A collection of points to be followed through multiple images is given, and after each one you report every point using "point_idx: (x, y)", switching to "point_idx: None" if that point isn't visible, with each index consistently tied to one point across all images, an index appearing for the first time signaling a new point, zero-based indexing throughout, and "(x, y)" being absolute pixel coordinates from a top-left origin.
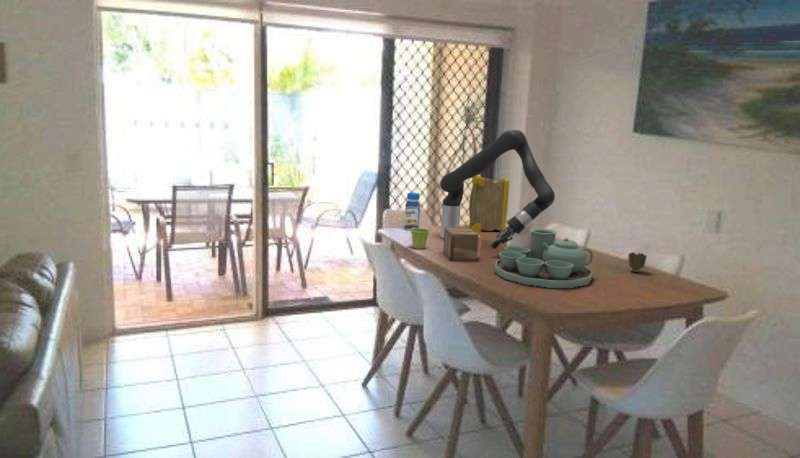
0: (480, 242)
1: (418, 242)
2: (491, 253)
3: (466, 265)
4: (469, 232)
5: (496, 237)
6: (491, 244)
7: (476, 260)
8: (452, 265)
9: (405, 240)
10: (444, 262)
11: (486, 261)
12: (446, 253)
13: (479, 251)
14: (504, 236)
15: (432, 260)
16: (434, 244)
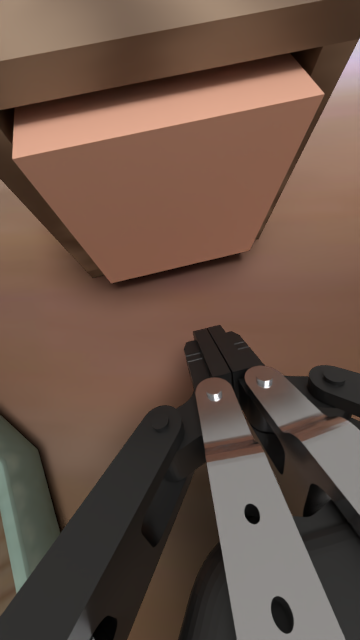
0: (56, 212)
1: None
2: (298, 355)
3: (10, 240)
4: (52, 11)
5: (324, 369)
6: (220, 328)
7: (91, 275)
8: (10, 196)
9: (354, 54)
10: None
11: (93, 323)
12: None
13: (95, 260)
14: (116, 549)
15: None
16: (349, 121)
